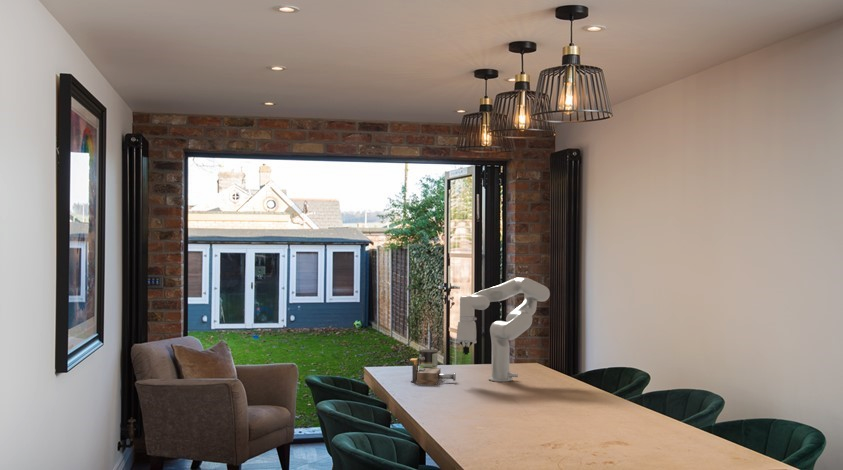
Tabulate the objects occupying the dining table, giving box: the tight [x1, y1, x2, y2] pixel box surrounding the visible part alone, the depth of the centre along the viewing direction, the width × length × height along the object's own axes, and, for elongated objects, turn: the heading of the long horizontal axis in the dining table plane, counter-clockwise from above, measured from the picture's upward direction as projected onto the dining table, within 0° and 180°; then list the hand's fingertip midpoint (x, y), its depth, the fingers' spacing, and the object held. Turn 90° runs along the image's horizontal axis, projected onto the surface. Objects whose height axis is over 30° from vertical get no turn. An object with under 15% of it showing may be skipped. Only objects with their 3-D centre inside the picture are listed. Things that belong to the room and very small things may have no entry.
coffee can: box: [418, 348, 438, 370], centre depth 437 cm, size 10×10×14 cm
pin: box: [438, 372, 457, 381], centre depth 416 cm, size 12×4×4 cm, turn 81°
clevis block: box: [410, 362, 442, 386], centre depth 418 cm, size 14×18×9 cm
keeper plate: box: [409, 357, 419, 370], centre depth 419 cm, size 3×5×6 cm, turn 172°
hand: (466, 354), depth 415 cm, fingers closed
